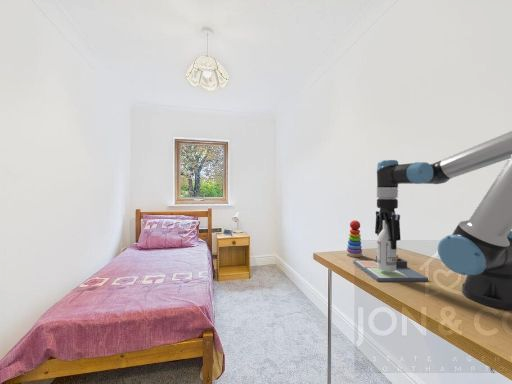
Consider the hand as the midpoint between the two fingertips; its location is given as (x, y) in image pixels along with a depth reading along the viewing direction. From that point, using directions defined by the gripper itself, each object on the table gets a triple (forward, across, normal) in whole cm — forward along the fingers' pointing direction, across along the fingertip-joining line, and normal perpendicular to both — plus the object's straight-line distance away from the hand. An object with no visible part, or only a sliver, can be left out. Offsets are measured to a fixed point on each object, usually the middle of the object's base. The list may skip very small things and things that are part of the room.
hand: (386, 254), depth 98 cm
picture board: (+9, +5, -3) cm, 11 cm away
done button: (+6, +11, -8) cm, 14 cm away
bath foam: (+6, 0, 0) cm, 6 cm away
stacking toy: (+9, +29, +1) cm, 30 cm away
